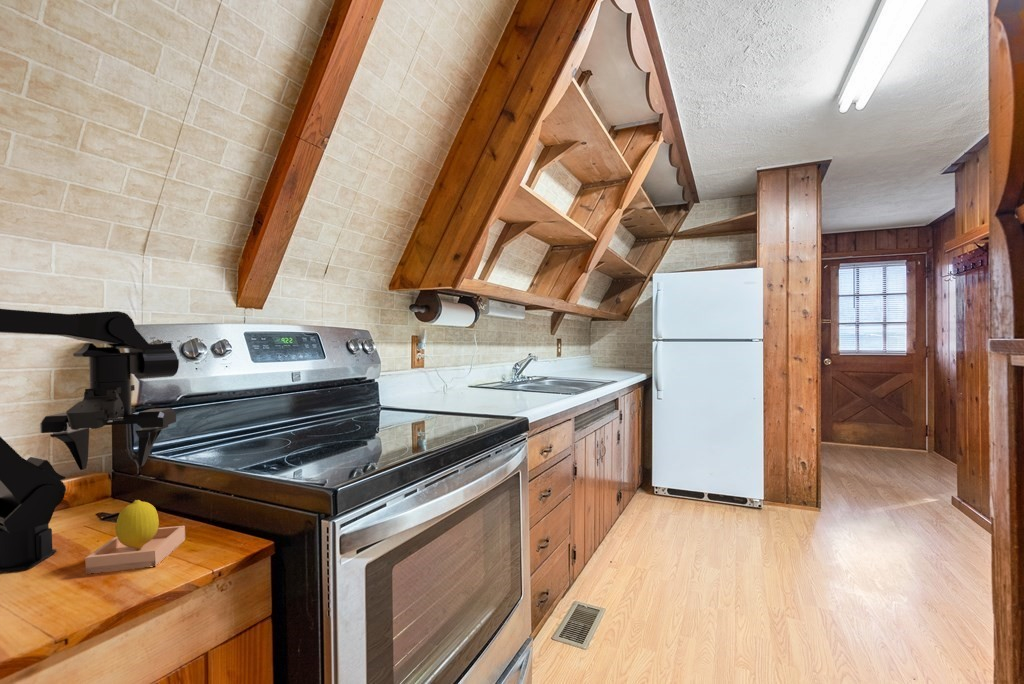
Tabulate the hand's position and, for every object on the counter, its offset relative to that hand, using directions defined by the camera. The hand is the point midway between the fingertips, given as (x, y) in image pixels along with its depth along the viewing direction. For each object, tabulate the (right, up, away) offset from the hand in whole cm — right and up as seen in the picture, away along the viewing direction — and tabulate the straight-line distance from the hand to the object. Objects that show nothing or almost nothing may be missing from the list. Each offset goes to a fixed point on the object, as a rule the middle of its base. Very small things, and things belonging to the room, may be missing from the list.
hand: (112, 467), depth 89 cm
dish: (+12, -12, -9) cm, 19 cm away
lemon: (+12, -11, -9) cm, 19 cm away
